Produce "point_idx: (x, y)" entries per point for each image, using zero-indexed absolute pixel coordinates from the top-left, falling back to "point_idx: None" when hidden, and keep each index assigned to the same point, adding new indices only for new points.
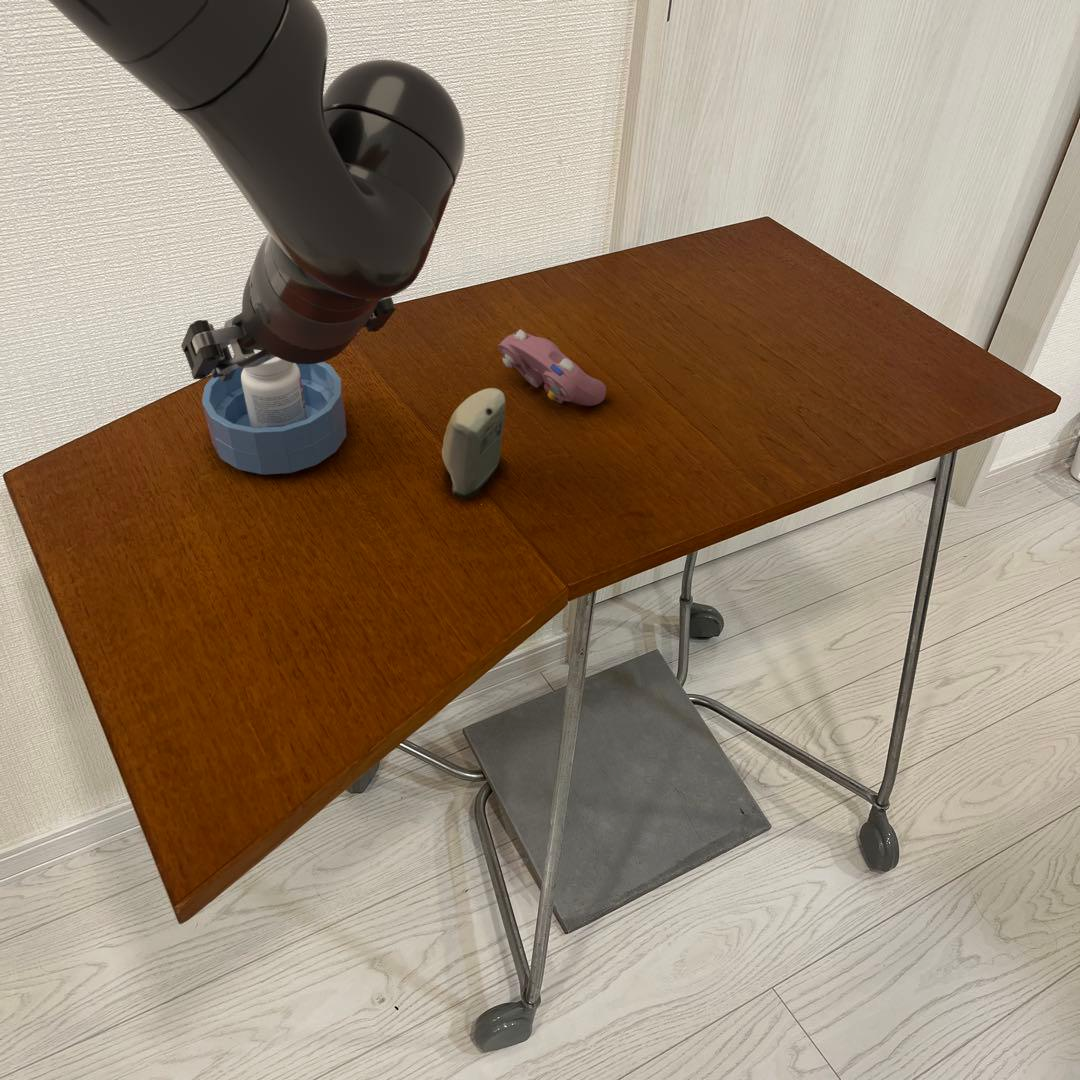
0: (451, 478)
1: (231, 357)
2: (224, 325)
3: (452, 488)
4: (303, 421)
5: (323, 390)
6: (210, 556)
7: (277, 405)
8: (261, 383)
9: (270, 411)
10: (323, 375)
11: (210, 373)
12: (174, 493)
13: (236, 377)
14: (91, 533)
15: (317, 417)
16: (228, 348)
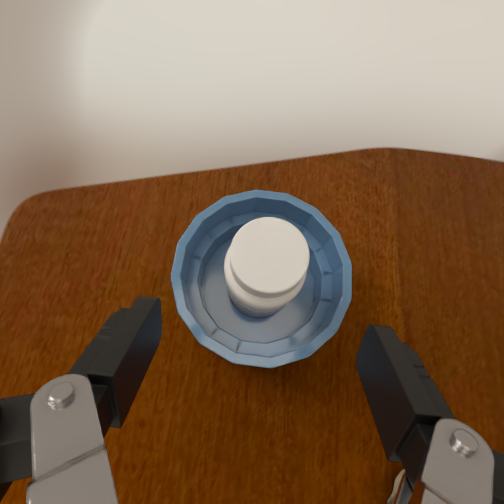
0: (395, 480)
1: (116, 408)
2: (30, 482)
3: (388, 501)
4: (265, 360)
5: (326, 272)
6: None
7: (251, 309)
8: (241, 288)
9: (241, 305)
10: (336, 264)
11: (10, 482)
12: (122, 305)
13: (244, 207)
14: (24, 316)
15: (286, 362)
16: (115, 391)
